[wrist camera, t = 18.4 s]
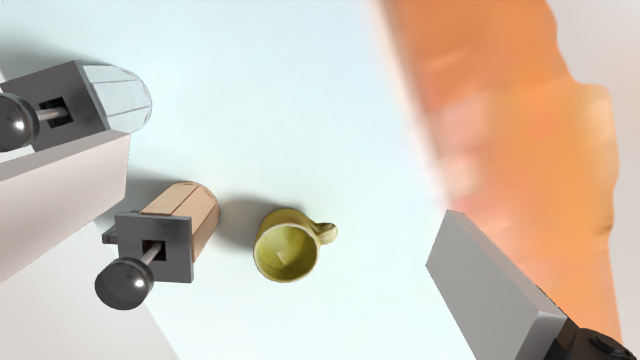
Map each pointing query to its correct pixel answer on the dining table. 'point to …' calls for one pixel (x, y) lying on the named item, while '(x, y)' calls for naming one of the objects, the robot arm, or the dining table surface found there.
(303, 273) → the mug
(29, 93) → the plate
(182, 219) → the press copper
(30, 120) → the plunger steel
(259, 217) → the dining table surface
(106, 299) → the plunger copper
